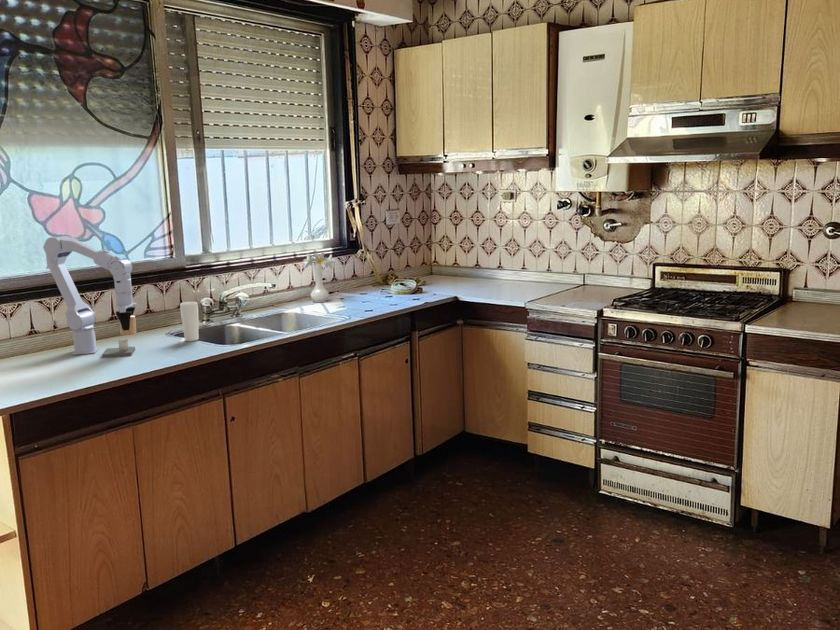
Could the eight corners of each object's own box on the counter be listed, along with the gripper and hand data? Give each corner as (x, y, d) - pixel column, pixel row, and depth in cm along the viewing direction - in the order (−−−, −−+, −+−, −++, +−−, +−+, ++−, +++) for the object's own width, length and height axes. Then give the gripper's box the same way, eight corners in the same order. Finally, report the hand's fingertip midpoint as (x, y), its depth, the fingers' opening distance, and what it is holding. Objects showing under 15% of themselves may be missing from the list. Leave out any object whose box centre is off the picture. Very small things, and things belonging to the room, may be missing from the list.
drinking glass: (179, 340, 295) (176, 303, 292) (195, 337, 300) (191, 300, 297) (188, 342, 290) (185, 305, 288) (204, 339, 295) (200, 302, 293)
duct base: (107, 351, 279) (105, 338, 278) (135, 349, 281) (133, 336, 280) (102, 357, 270) (100, 343, 269) (131, 355, 272) (129, 341, 271)
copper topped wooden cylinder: (121, 332, 277) (120, 315, 275) (137, 331, 278) (136, 314, 277) (119, 335, 271) (118, 317, 270) (135, 334, 273) (134, 317, 272)
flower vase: (340, 298, 384) (338, 250, 379) (321, 304, 368) (318, 254, 363) (319, 297, 390) (316, 250, 385) (299, 303, 373) (296, 254, 369)
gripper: (132, 294, 266) (136, 331, 268) (137, 288, 280) (141, 324, 282) (111, 295, 264) (115, 333, 267) (118, 289, 278) (121, 325, 281)
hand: (127, 328), depth 274 cm, fingers closed on copper topped wooden cylinder, 5 cm apart
